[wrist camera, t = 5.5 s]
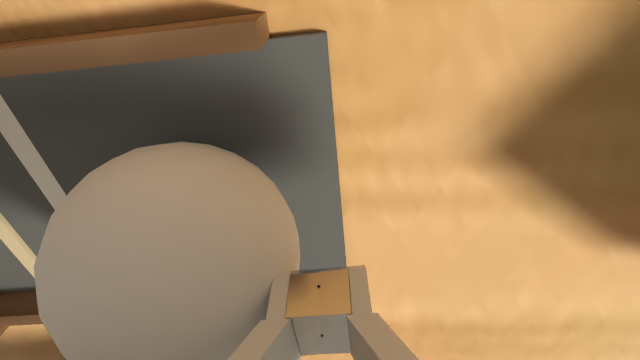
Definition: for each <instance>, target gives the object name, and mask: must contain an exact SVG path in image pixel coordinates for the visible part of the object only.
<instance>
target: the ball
mask: <svg viewBox="0 0 640 360" xmlns="http://www.w3.org/2000/svg"><path fill="white" fill-rule="evenodd" d="M299 264H300V248H299V236H298V232H297V228H296V224H295V220H294V216H293V214H292V212H291V210H290V209H289V207H288V205H287V203H286V201H285V200H284V198H283V196H282V195H281V193H280V191H279V190H278V188H277V187H276V185H275V183H274V182H273V181H272V180H271V179H270V178H269V177H267V176H266V175H265V174H264V173H263V172H262V171H261V170H260V169H259V168H258V167H257V166H255V165H254V164H252V163H250V162H249V161H247V160H245V159H244V158H242V157H240V156H239V155H237V154H235V153H233V152H230V151H227V150H224V149H221V148H218V147H215V146H212V145H209V144H201V143H191V142H174V143H167V144H159V145H152V146H146V147H140V148H136V149H133V150H131V151H129V152H127V153H124V154H122V155H120V156H118V157H115V158H113V159H111V160H109V161H108V162H106V163H105V164H103V165H101V166H100V167H98V168H96V169H95V170H93V171H92V172H90V173H88V174H87V175H86V176H85V177H84V178H83V179H82V180H81V181H80V182H79V183H78V184H77V185H76V186H75V187H74V188H73V189H72V190H71V191H70V192H69V194H68V195H67V196H66V197H65V199H64V200H63V201H62V202H61V204H60V205H59V206H58V207H57V209H56V210H55V211H54V212H53V214H52V215H51V217H50V220H49V223H48V225H47V228H46V231H45V234H44V236H43V239H42V243H41V246H40V249H39V252H38V255H37V258H36V262H35V265H34V274H35V285H36V296H37V305H38V312H39V317H40V319H41V321H42V322H43V324H44V326H45V327H46V329H47V331H48V332H49V334H50V336H51V337H52V339H53V341H54V342H55V344H56V346H57V347H58V349H59V351H60V352H61V354H62V356H63V357H64V358H65V359H67V360H228V358H229V357H230V356H231V355H232V354H233V353H234V351H235V350H236V349H237V348H238V347H239V345H240V344H241V343H242V342H243V341H244V339H245V338H246V337H247V336H248V335H249V333H250V332H251V331H252V330H253V329H254V327H255V326H256V325H257V324H258V323H259V322H260V320H266V314H267V308H268V302H269V296H270V290H271V284H272V281H273V279H274V277H275V276H276V275H277V274H278V273H280V272H281V271H292V270H299Z"/></svg>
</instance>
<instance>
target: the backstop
mask: <svg viewBox="0 0 640 360" xmlns="http://www.w3.org/2000/svg"><path fill="white" fill-rule="evenodd" d="M269 38H270V34H269V28H268V22H267V17H266V12H262V13H253V14H245V15H236V16H227V17H218V18H210V19H201V20H192V21H183V22H175V23H166V24H157V25H148V26H140V27H131V28H122V29H114V30H105V31H96V32H87V33H79V34H70V35H61V36H52V37H44V38H35V39H26V40H17V41H9V42H0V78H1V77H11V76H20V75H30V74H39V73H48V72H58V71H67V70H76V69H86V68H95V67H104V66H114V65H123V64H132V63H142V62H151V61H160V60H170V59H179V58H188V57H198V56H207V55H217V54H226V53H235V52H245V51H254V50H261V49H262V48H263V46H264V45H265V44H266V42H267V41H268V39H269ZM31 324H43V322H42V321H41V319H40V317H39V312H38V305H37V296H36V291H31V292H14V293H1V292H0V336H1V335H2V334H3V332H4V331H5V330H6V329H7V328H8V327H9V326H13V325H31Z"/></svg>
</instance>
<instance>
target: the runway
mask: <svg viewBox="0 0 640 360" xmlns="http://www.w3.org/2000/svg"><path fill="white" fill-rule="evenodd" d="M174 142H191V143H201V144H209V145H212V146H215V147H218V148H221V149H224V150H227V151H230V152H233V153H235V154H237V155H239V156H240V157H242V158H244V159H245V160H247V161H249V162H250V163H252V164H254V165H255V166H257V167H258V168H259V169H260V170H261V171H262V172H263V173H264V174H265V175H266V176H267V177H269V178H270V179H271V180H272V181H273V182H274V183H275V185H276V187H277V188H278V190H279V191H280V193H281V195H282V196H283V198H284V200H285V201H286V203H287V205H288V207H289V209H290V210H291V212H292V214H293V216H294V220H295V224H296V228H297V232H298V236H299V248H300V264H299V270H313V269H323V268H334V267H346V256H345V244H344V233H343V221H342V209H341V197H340V185H339V174H338V162H337V150H336V138H335V126H334V114H333V103H332V91H331V79H330V67H329V55H328V44H327V32H326V31H322V32H313V33H304V34H295V35H286V36H277V37H270V38H269V39H268V41H267V42H266V44H265V45H264V46H263V48H262V49H261V50H254V51H245V52H235V53H226V54H217V55H207V56H198V57H188V58H179V59H170V60H160V61H151V62H142V63H132V64H123V65H114V66H104V67H95V68H86V69H76V70H67V71H58V72H48V73H39V74H30V75H20V76H11V77H1V78H0V292H1V293H14V292H31V291H36V285H35V274H34V265H35V262H36V258H37V255H38V252H39V249H40V246H41V243H42V239H43V236H44V234H45V231H46V228H47V225H48V223H49V220H50V217H51V215H52V214H53V212H54V211H55V210H56V209H57V207H58V206H59V205H60V204H61V202H62V201H63V200H64V199H65V197H66V196H67V195H68V194H69V192H70V191H71V190H72V189H73V188H74V187H75V186H76V185H77V184H78V183H79V182H80V181H81V180H82V179H83V178H84V177H85V176H86V175H87V174H88V173H90V172H92V171H93V170H95V169H96V168H98V167H100V166H101V165H103V164H105V163H106V162H108V161H109V160H111V159H113V158H115V157H118V156H120V155H122V154H124V153H127V152H129V151H131V150H133V149H136V148H140V147H146V146H152V145H159V144H167V143H174Z"/></svg>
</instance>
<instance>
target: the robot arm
mask: <svg viewBox="0 0 640 360" xmlns="http://www.w3.org/2000/svg"><path fill="white" fill-rule="evenodd" d="M348 270H349V272H348ZM329 353H351V355H352V357H353V358H354V360H419V359H418V358H417V357H416V356H415V355H414V354H413V353H412V352H411V350H410V349H409V348H408V347H407V346H406V345H405V344H404V342H403V341H402V340H401V339H400V338H399V337H398V336H397V335H396V333H395V332H394V331H393V330H392V329H391V328H390V327H389V326H388V324H387V323H386V322H385V321H384V320H383V319H382V318H381V317H380V315H379V314H378V313H372V309H371V302H370V294H369V287H368V280H367V273H366V267H365V265H362V266H349V267H348V266H346V267H334V268H323V269H313V270H292V271H281V272H280V273H278V274H277V275H276V276H275V277H274V279H273V281H272V284H271V290H270V296H269V302H268V308H267V314H266V320H260V322H259V323H258V324H257V325H256V326H255V327H254V329H253V330H252V331H251V332H250V333H249V335H248V336H247V337H246V338H245V339H244V341H243V342H242V343H241V344H240V345H239V347H238V348H237V349H236V350H235V351H234V353H233V354H232V355H231V356H230V357H229V358H228V360H300V358H301V356H302V355H314V354H329Z"/></svg>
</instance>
